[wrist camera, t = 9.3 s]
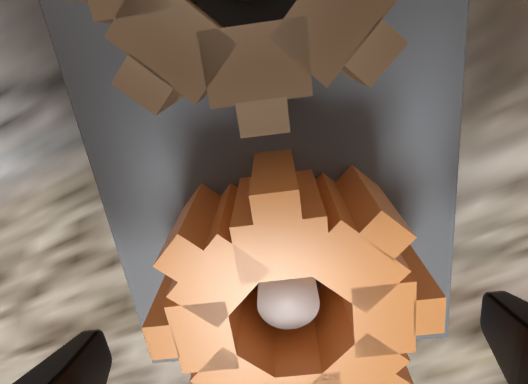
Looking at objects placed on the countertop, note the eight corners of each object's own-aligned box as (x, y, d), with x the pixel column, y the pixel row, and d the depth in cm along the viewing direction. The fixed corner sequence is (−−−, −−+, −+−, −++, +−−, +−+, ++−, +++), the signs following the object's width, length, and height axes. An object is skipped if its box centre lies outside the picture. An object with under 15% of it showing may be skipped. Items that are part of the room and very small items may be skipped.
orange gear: (402, 337, 13) (439, 422, 10) (198, 356, 13) (178, 443, 10) (402, 134, 10) (452, 171, 7) (148, 166, 10) (104, 213, 8)
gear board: (429, 306, 14) (478, 388, 11) (164, 332, 15) (133, 416, 11) (451, -241, 8) (566, -420, 5) (21, -164, 9) (-120, -280, 6)
